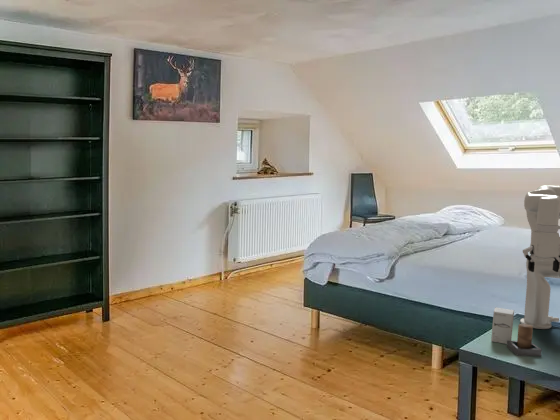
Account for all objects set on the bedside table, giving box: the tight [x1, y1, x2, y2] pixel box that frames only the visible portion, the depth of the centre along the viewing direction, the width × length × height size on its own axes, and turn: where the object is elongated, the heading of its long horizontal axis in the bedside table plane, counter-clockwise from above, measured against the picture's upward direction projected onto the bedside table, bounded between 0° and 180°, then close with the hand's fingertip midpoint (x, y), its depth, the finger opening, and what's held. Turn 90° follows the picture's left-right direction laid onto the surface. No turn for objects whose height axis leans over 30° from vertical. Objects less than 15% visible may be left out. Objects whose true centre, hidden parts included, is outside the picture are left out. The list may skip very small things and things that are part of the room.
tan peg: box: [516, 323, 534, 348], centre depth 204 cm, size 5×5×10 cm
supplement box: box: [490, 306, 515, 345], centre depth 215 cm, size 7×7×13 cm
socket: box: [506, 340, 542, 357], centre depth 204 cm, size 9×9×2 cm
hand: (543, 271), depth 211 cm, fingers open, 9 cm apart
